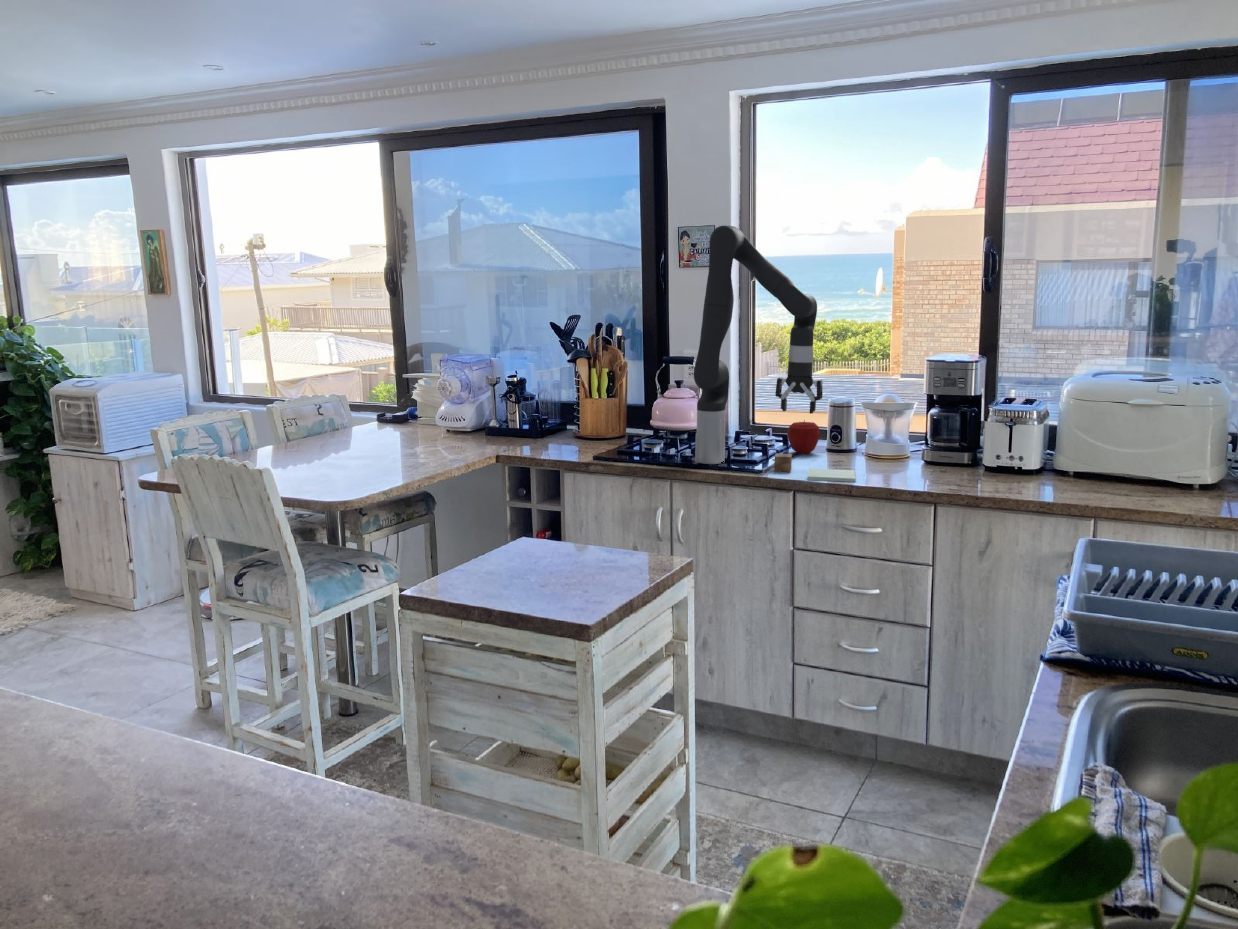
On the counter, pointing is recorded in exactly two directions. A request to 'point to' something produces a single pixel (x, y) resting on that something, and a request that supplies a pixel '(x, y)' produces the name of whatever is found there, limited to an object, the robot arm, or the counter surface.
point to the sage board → (831, 475)
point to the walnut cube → (783, 463)
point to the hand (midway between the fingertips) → (797, 412)
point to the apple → (803, 436)
